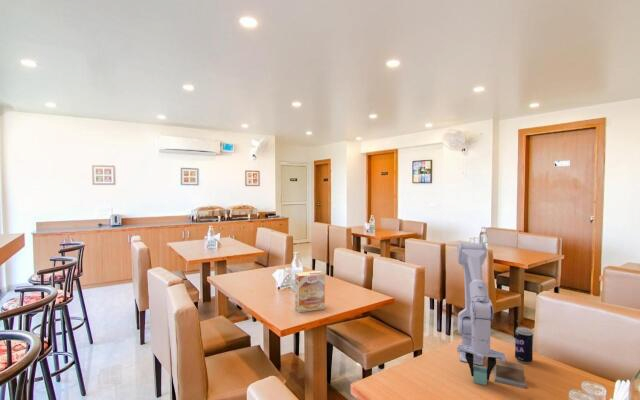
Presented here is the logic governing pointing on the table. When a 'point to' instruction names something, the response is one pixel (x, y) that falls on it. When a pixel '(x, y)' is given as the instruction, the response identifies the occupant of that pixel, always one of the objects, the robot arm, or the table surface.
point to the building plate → (509, 380)
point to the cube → (480, 375)
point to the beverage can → (524, 344)
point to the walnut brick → (509, 370)
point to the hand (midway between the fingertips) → (480, 376)
